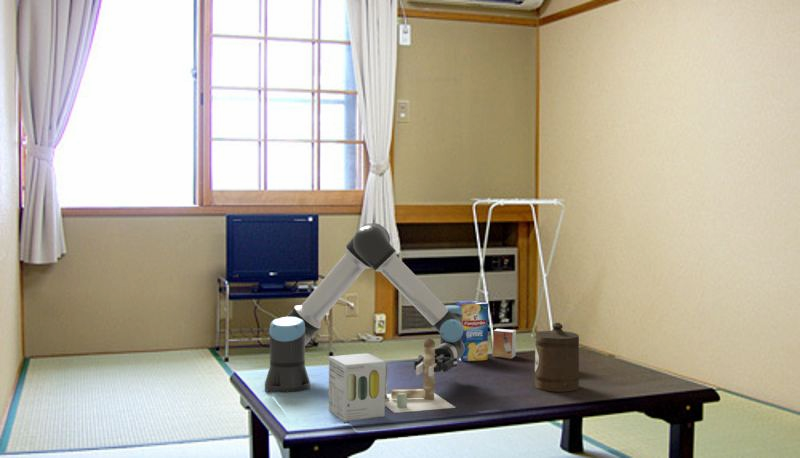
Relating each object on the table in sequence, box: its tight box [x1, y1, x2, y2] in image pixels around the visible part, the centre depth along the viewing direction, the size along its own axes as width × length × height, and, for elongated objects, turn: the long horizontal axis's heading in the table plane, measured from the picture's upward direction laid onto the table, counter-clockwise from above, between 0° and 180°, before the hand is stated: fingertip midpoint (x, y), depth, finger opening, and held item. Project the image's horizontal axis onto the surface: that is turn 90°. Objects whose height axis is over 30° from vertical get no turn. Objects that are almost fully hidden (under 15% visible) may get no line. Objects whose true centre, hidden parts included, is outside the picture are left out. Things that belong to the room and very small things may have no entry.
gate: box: [390, 338, 436, 400], centre depth 291 cm, size 14×4×19 cm, turn 98°
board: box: [385, 392, 456, 414], centre depth 289 cm, size 20×22×1 cm
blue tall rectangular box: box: [455, 300, 489, 362], centre depth 355 cm, size 7×11×22 cm, turn 106°
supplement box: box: [328, 352, 386, 424], centre depth 274 cm, size 13×13×18 cm
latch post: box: [397, 393, 407, 408], centre depth 282 cm, size 3×3×4 cm
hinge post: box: [385, 361, 389, 402], centre depth 289 cm, size 4×4×12 cm
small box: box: [492, 328, 517, 359], centre depth 360 cm, size 8×6×10 cm
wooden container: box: [534, 322, 580, 393], centre depth 311 cm, size 15×15×22 cm
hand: (423, 371), depth 285 cm, fingers closed on gate, 3 cm apart
